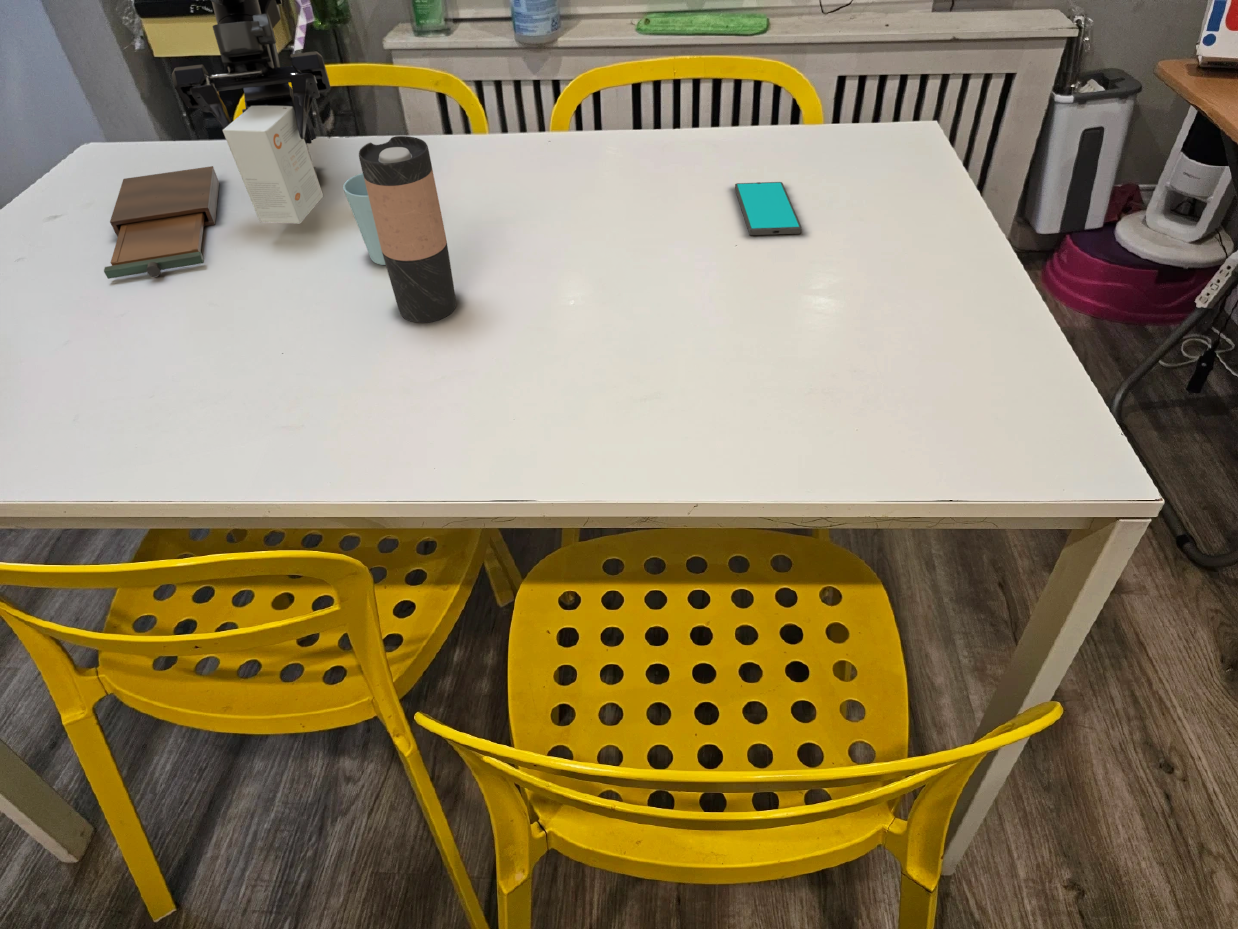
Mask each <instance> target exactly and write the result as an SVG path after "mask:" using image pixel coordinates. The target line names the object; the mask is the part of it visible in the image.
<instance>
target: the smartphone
mask: <svg viewBox="0 0 1238 929" xmlns="http://www.w3.org/2000/svg"><path fill="white" fill-rule="evenodd" d="M734 192H735V194H736V198H737V201H738V204H739V207H740V210H741V213H742V215H743V219H744V222H745V225H746V228H747V231H748V235H749V236H767V235H768V236H769V235H795V234H801V233H802V229H803V228H802V225H801V223H800V220H799V218H798V216H797V213H796V210H795V209H794V206H793V204H792V202H791V200H790V196H789V195H788V193H787V190H786V188H785V185H784V183H783V181H771V182H770V181H766V182H736V183H734Z"/></svg>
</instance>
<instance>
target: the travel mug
mask: <svg viewBox="0 0 1238 929" xmlns="http://www.w3.org/2000/svg"><path fill="white" fill-rule="evenodd" d="M358 158H359V163H360V167H361V173H363V176H364V180H365V184H366V188H367V192H368V196H369V201H370V205H371V209H372V213H373V217H374V221H375V225H376V230H377V234H378V238H379V242H380V246H381V250H382V254H383V257H384V261H385V264H386V265H385V267H386V270H387V271H386V272H387V274H388V278H389V281H390V285H391V289H392V292H393V295H394V298H395V299H394V300H395V302H396V305H397V309H398V311H399V314H400V316H401V317H402V318H404V319H405V320H407V321H408V322H412V323H416V324H417V323H418V324H421V323H422V324H426V323H433V322H437V321H441V320H443V319H445V318H446V317H448V316H450V315H451V314H452V313H453V312H454V311H455V309H456V307H457V300H456V292H455V285H454V279H453V278H454V277H453V273H452V267H451V266H452V265H451V259H450V254H449V247H448V241H447V236H446V230H445V225H444V221H443V220H444V219H443V214H442V210H441V205H440V200H439V195H438V190H437V185H436V179H435V175H434V170H433V166H432V159H431V154H430V150H429V145H428V143H427V142H426V141H425V140H423V139H421V138H418V137H415V136H407V135H396V136H392V137H391V138H390V139H389V140H388V141H386V142H383V143H381V144H375V143H372V142H368V143H366V144H364V145H363V146H362V147H361V148H360V149H359V150H358Z"/></svg>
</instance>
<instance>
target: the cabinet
mask: <svg viewBox="0 0 1238 929" xmlns="http://www.w3.org/2000/svg"><path fill="white" fill-rule="evenodd" d="M219 189H220V181H219V178H218V175H217V173H216V170H215V168H214V165H213V166H212V165H211V166H204V167H197V168H196V167H195V168H189V169H183V170H176V171H169V172H162V173H161V172H160V173H155V174H147V175H140V176H133V177H126V178H123V179H122V182H121V185H120V188H119V191H118V195H117V198H116V201H115V204H114V207H113V210H112V214H111V217H110V220H109V223H110V225H111V228H112V229H113V231H114V232H115V235H116V237H117V238H118V235H119V232H120V228H121V225H122V224H125V223H132V222H139V221H145V220H152V219H158V218H165V217H171V216H178V215H184V214H191V213H198V212H203V213H204V215H205V219H204V227H208V226H215V225H216V219H217V218H216V216H217V209H218V199H219Z"/></svg>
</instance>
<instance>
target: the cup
mask: <svg viewBox="0 0 1238 929" xmlns="http://www.w3.org/2000/svg"><path fill="white" fill-rule="evenodd" d="M342 189H343V191H344V192H343V193H344V195H345V197H346V200H347V201H348V205H349V207H350V209H351V212H352V215H353V217H354V220H355V222H356V225H357V227H358V229H359V233H360V235H361V237H362V240H363V242H364V246H365V248H366V250H367V253H368V255H369V258H370V259H371V261H372V262H373V263H375V264H377V265H381V266H386V264H385V261H384V257H383V254H382V250H381V246H380V242H379V238H378V234H377V230H376V225H375V221H374V217H373V213H372V209H371V205H370V201H369V196H368V192H367V188H366V184H365V180H364V176H363V172H361V173H358V174H355V175H353V176H351V177H349V178H348V179H347V180H346V181H345V182H344V184H342Z"/></svg>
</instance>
